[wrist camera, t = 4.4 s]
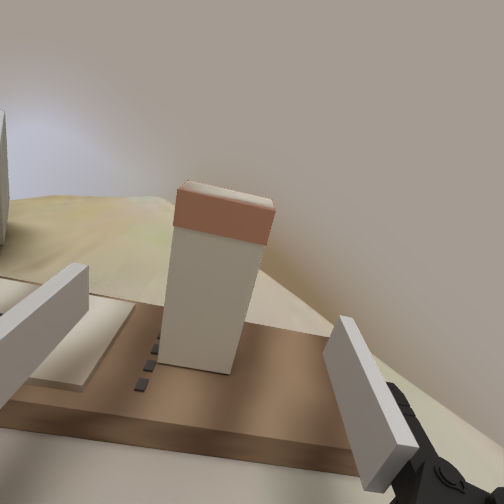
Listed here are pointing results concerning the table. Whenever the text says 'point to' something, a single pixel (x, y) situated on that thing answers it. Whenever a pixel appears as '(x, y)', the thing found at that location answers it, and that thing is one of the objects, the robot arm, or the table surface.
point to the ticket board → (182, 391)
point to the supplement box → (3, 179)
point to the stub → (211, 274)
